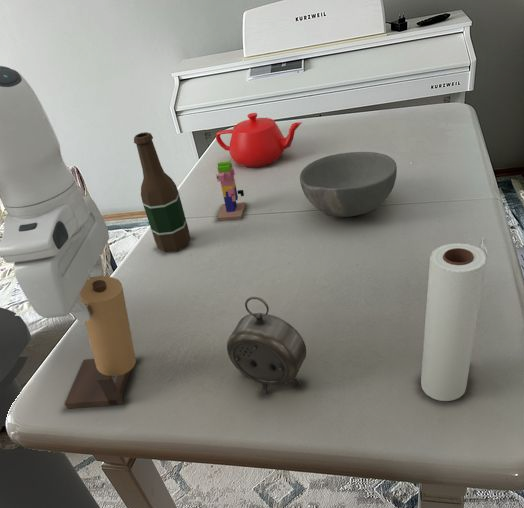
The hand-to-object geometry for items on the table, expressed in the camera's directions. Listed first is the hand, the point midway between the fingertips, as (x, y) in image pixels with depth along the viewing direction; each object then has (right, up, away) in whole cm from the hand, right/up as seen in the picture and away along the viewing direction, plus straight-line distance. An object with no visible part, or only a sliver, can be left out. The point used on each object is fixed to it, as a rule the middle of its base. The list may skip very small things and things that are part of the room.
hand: (93, 302), depth 73 cm
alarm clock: (+25, -12, +5) cm, 28 cm away
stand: (-2, -12, +11) cm, 16 cm away
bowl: (+43, +24, +42) cm, 65 cm away
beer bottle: (+4, +17, +43) cm, 46 cm away
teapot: (+24, +46, +72) cm, 88 cm away
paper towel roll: (+50, -12, 0) cm, 51 cm away
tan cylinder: (+4, -4, +3) cm, 6 cm away
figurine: (+16, +26, +50) cm, 59 cm away
